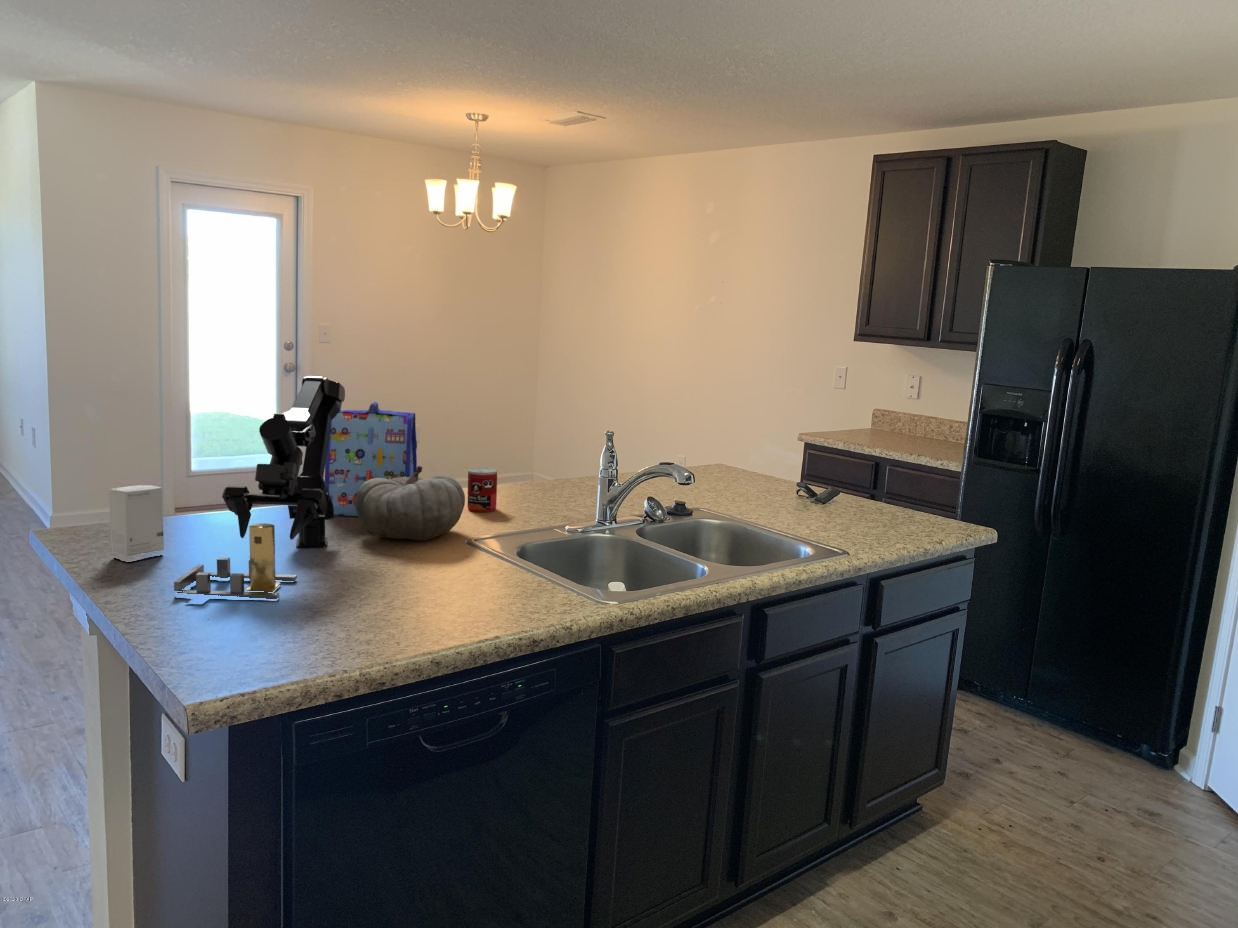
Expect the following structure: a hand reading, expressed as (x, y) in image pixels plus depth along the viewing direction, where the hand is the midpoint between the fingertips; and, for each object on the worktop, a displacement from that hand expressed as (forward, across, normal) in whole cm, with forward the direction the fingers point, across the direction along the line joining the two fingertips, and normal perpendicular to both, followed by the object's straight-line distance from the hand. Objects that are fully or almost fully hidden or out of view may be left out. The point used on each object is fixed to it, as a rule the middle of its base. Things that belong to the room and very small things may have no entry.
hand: (266, 537), depth 170 cm
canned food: (-43, +34, +56) cm, 79 cm away
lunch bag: (-38, +6, +51) cm, 64 cm away
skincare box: (-5, -32, +19) cm, 37 cm away
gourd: (-22, +20, +36) cm, 46 cm away
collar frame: (+10, -5, +4) cm, 11 cm away
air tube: (+8, 0, +5) cm, 10 cm away
